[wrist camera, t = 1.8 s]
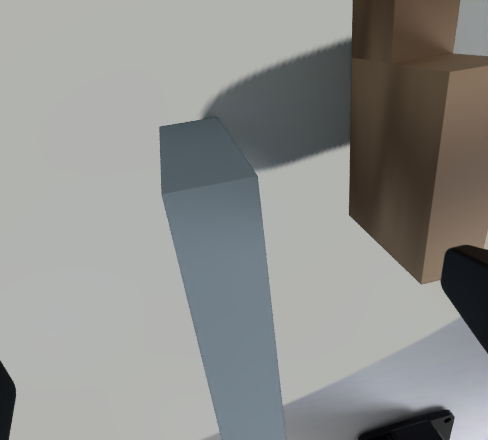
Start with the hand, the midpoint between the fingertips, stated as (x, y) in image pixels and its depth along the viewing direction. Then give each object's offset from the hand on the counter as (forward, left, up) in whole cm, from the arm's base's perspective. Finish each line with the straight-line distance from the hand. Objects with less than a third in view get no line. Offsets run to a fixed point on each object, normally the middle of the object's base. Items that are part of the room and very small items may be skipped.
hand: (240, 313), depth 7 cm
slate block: (-4, 0, -8) cm, 8 cm away
